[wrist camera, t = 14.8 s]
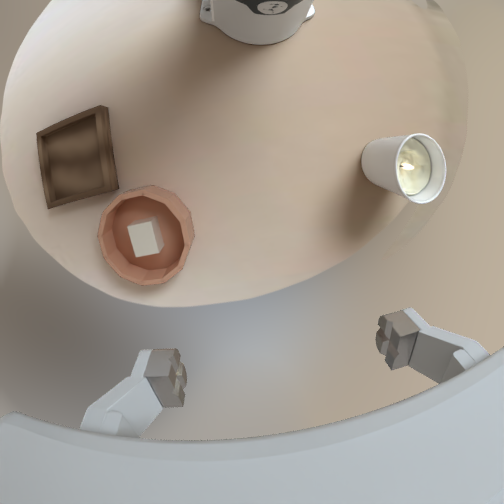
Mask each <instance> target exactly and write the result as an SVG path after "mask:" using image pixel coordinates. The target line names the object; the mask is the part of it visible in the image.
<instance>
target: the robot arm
mask: <svg viewBox="0 0 504 504" xmlns="http://www.w3.org/2000/svg"><path fill="white" fill-rule="evenodd" d="M313 1H314V0H202V5H201V10H200V19H201V20H202V21H203V22H206V23H209V24H212V25H215V26H217V27H218V28H219V29H221V30H222V31H223V32H224V33H225V34H227V35H228V36H230V37H231V38H233V39H236V40H238V41H241V42H244V43H249V44H257V45H265V44H273V43H277V42H280V41H283V40H285V39H287V38H289V37H290V36H292V35H293V34H294V33H295V32H296V31H297V30H298V28H299V27H300V25H301V24H302V23H303V22H304V21H306V20H308V19H310V18H311V17H313V16H314V14H315V9H314V7H313V5H312V3H313ZM207 9H210V11H206V10H207ZM378 325H379V326H380V329H379V330H378V331H377V333H376V345H377V348H378V350H379V352H380V353H381V354H383V355H385V356H386V357H385V361H386V363H387V364H388V366H389V367H390V369H391V370H394V369H397V368H401V367H404V366H407V365H409V366H410V367H411V368H413V369H414V370H416V371H418V372H420V373H422V374H423V375H425V376H427V377H429V378H430V379H432V380H434V381H436V382H437V383H439V384H438V385H436V386H434V387H432V388H430V389H428V390H426V391H423V392H421V393H419V394H417V395H414V396H412V397H409V398H407V399H404V400H402V401H399V402H397V403H394V404H392V405H389V406H386V407H383V408H380V409H377V410H374V411H371V412H368V413H365V414H362V415H359V416H355V417H352V418H348V419H345V420H341V421H337V422H334V423H329V424H325V425H321V426H317V427H312V428H307V429H302V430H297V431H292V432H286V433H279V434H273V435H266V436H258V437H248V438H237V439H223V440H200V441H199V440H194V441H193V440H191V441H190V440H189V441H188V440H184V441H183V440H156V439H143V438H140V435H141V434H142V433H143V432H144V431H145V430H146V428H147V427H148V426H149V425H150V424H151V422H152V421H153V420H154V419H155V418H156V417H157V415H158V414H159V413H160V412H161V411H162V409H163V407H183V405H184V397H185V394H184V391H183V389H184V388H185V387H186V383H187V375H186V370H185V367H184V364H183V363H181V362H180V353H179V351H178V349H153V350H141V351H140V352H139V355H138V358H137V360H136V363H135V366H134V368H133V371H132V373H131V376H130V377H126V378H125V379H124V380H123V381H121V382H120V383H119V384H117V385H116V386H115V387H114V388H113V389H111V390H110V391H109V392H107V393H106V394H105V395H103V396H102V397H101V398H100V399H98V400H97V401H96V402H94V403H93V404H92V405H91V406H89V407H88V409H87V411H86V414H85V416H84V418H83V421H82V423H81V426H80V429H76V428H72V427H67V426H63V425H59V424H55V423H51V422H48V421H45V420H41V419H38V418H35V417H32V416H29V415H26V414H23V413H20V412H17V411H15V412H14V411H13V412H10V413H8V414H6V415H4V416H2V417H1V418H0V504H504V347H503V348H501V349H500V350H498V351H497V352H495V353H493V354H492V355H490V354H489V353H488V352H487V351H486V350H485V349H484V348H483V347H482V346H481V345H480V344H479V343H478V342H477V341H476V340H473V339H470V338H467V337H464V336H461V335H458V334H455V333H452V332H449V331H446V330H443V329H440V328H437V327H434V326H432V327H430V326H429V325H428V324H427V323H426V322H425V320H423V318H422V317H421V316H420V315H418V313H417V312H416V311H415V310H414V309H413V308H410V307H409V308H406V309H403V310H400V311H397V312H394V313H390V314H386V315H382V316H380V318H379V321H378Z"/></svg>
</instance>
